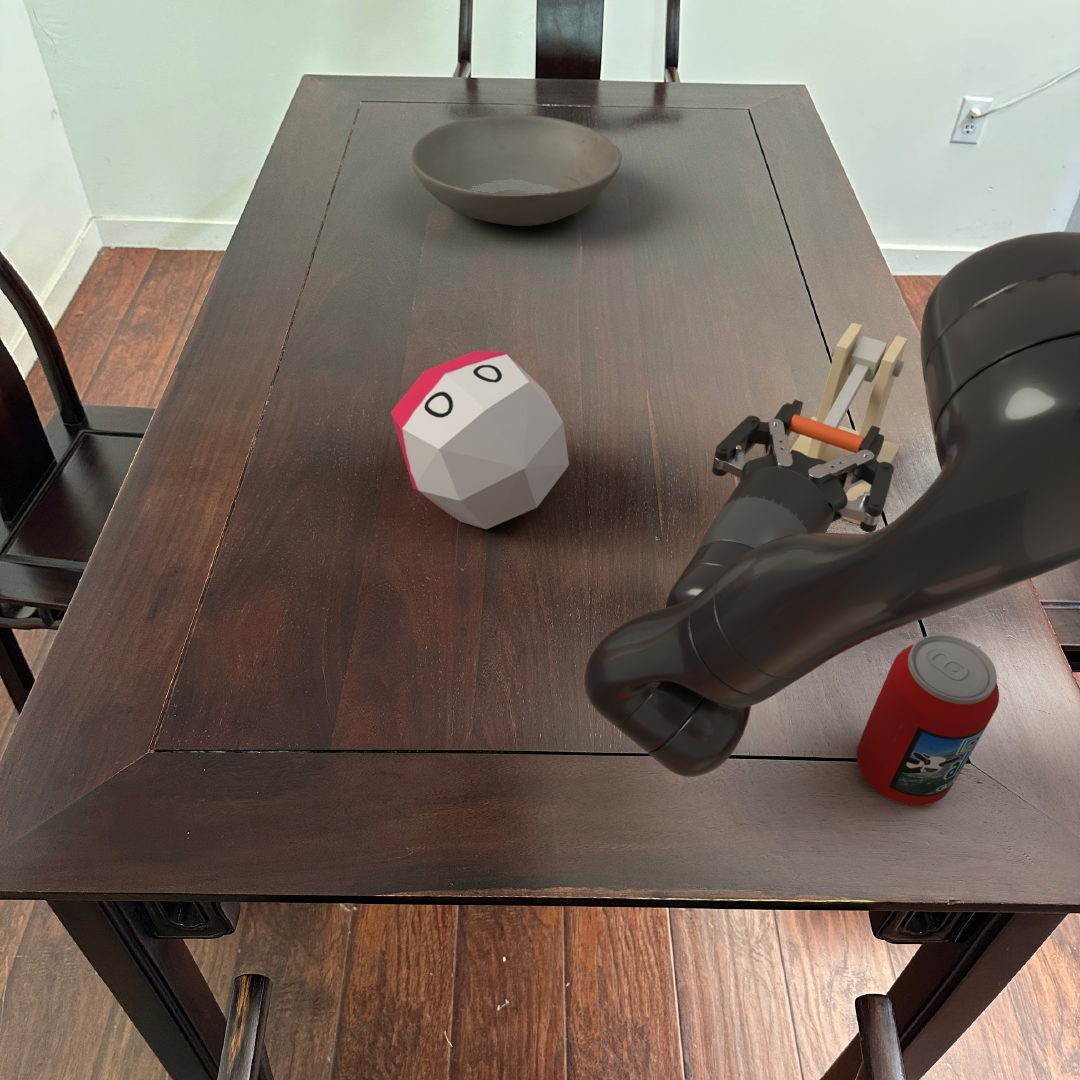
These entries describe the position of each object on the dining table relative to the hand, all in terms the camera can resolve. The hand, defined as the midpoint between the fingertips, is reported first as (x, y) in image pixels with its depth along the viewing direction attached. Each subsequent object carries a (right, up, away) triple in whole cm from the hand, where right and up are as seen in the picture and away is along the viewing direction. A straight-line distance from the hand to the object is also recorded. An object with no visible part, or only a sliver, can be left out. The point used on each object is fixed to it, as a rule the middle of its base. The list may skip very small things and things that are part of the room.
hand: (834, 422), depth 82 cm
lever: (+2, +2, +2) cm, 3 cm away
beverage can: (+1, -27, -12) cm, 29 cm away
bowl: (-28, +36, +52) cm, 69 cm away
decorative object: (-30, -6, +9) cm, 32 cm away
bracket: (+4, -3, +12) cm, 13 cm away
